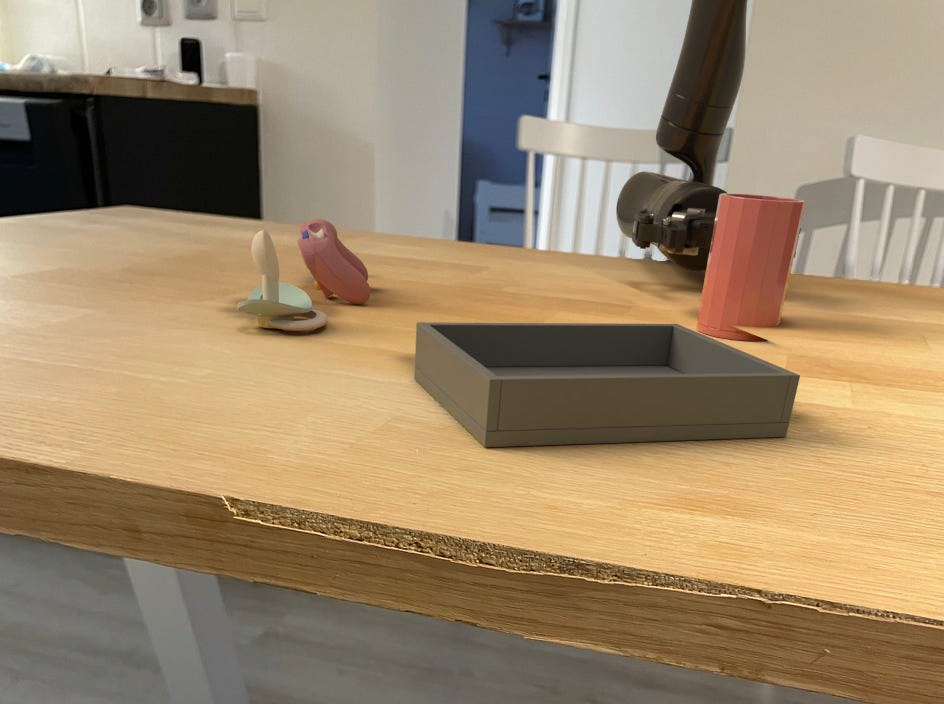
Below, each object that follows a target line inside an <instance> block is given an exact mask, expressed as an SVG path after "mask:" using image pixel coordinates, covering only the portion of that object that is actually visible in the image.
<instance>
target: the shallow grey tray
mask: <svg viewBox="0 0 944 704" xmlns="http://www.w3.org/2000/svg"><path fill="white" fill-rule="evenodd" d="M415 329H416V330H415V353H414V354H415V355H414V375H413V376H414V377H413V378H414V380H415V381H416V382H417V383H418V384H419V385H420V386H421V387H422V388H423V389H424V390H425V391H426V392H427V393H428V394H429V395H430V396H431V397H432V398H433V399H435V400H436V401H437V402H438V404H439V405H440V406H442V407H443V408H444V409H445V410H446V412H448V413H449V415H451V416H452V417H453V418H454V419H455V420H456V421H457V422H458V423H459V424H460V425H461V426H462V427H463V428H464V429H465V430H466V431H467V432H469V434H470V435H472V437H473V438H474V439H476V441H478V442H479V444H481V446H482V447H484V448H504V447H505V448H506V447H507V448H508V447H534V446H536V447H537V446H563V445H564V446H565V445H589V444H590V445H594V444H616V443H617V444H620V443H649V442H677V441H678V442H679V441H702V440H705V441H706V440H707V441H708V440H730V439H731V440H733V439H736V440H737V439H755V438H756V439H759V438H760V439H761V438H763V439H764V438H785V437H787V434H788V430H789V426H790V421H791V417H792V413H793V408H794V404H795V400H796V395H797V392H798V388H799V384H800V379H801V375H800V374H798V373H795V372H793V371H791V370H788V369H786V368H785V367H782V366H779V365H776V364H774V363H772V362H769V361H766V360H765V359H762V358H760V357H758V356H756V355H753V354H750V353H748V352H746V351H743V350H741V349H739V348H736V347H734V346H731V345H729V344H727V343H724V342H722V341H719V340H717V339H714V338H712V337H709V336H707V335H706V334H703V333H701V332H699V331H695V330H693V329H690V328H688V327H685V326H683V325H681V324H678V323H615V322H614V323H613V322H612V323H599V322H598V323H596V322H594V323H593V322H589V323H588V322H585V323H584V322H573V323H572V322H441V321H440V322H438V321H437V322H435V321H434V322H426V321H424V322H423V321H422V322H421V321H419V322H416V328H415Z"/></svg>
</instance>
